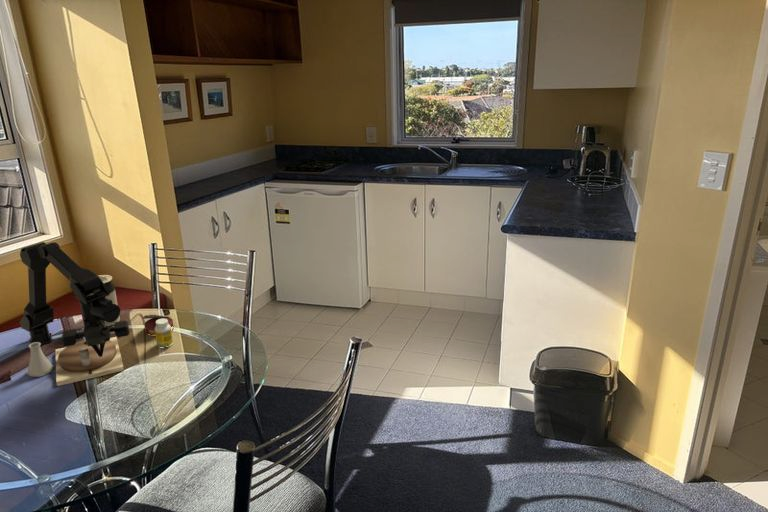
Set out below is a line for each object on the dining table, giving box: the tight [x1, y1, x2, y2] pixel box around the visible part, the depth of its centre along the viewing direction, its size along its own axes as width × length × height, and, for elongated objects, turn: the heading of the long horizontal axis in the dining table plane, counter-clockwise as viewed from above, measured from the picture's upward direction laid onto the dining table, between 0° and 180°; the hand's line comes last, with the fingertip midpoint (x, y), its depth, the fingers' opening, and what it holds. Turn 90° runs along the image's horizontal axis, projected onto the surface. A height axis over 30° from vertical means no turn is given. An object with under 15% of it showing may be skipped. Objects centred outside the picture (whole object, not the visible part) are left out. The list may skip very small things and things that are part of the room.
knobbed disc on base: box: [58, 339, 116, 372], centre depth 182 cm, size 17×17×7 cm
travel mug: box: [92, 274, 121, 327], centre depth 205 cm, size 8×8×18 cm
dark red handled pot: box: [142, 314, 174, 335], centre depth 204 cm, size 11×10×10 cm
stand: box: [55, 336, 125, 387], centre depth 184 cm, size 21×19×2 cm
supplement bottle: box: [155, 318, 174, 348], centre depth 194 cm, size 5×5×10 cm
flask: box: [26, 342, 55, 378], centre depth 177 cm, size 7×7×10 cm
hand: (100, 356), depth 177 cm, fingers closed
